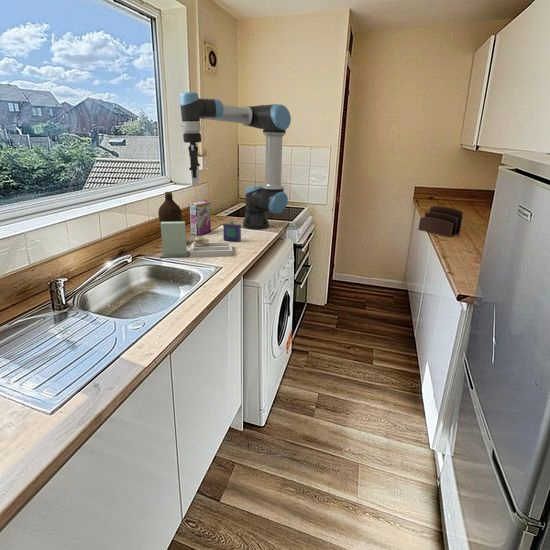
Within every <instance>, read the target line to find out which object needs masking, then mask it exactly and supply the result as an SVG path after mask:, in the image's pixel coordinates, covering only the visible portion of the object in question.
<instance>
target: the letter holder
mask: <svg viewBox="0 0 550 550" xmlns="http://www.w3.org/2000/svg"><path fill="white" fill-rule="evenodd" d="M463 215H464V212H463V211H462V210H459V209H456V208H451V207H449V206H448V207H446V206H441V205H431V206H430V207H429V211H427V212H425V213H424V216H421V217H420V219H419V222H418V223H419V224H418V231H421V232H426V233H430V234H434V235H440V236H444V237H448V238H452V237H455V236H459V235H460V234H461V229H462V228H461V227H462V221H463V218H464V217H463Z"/></svg>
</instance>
